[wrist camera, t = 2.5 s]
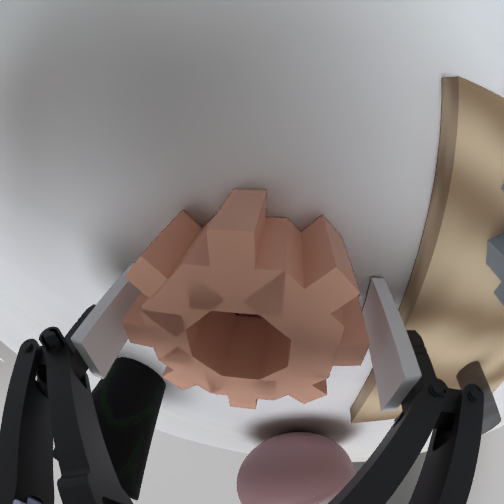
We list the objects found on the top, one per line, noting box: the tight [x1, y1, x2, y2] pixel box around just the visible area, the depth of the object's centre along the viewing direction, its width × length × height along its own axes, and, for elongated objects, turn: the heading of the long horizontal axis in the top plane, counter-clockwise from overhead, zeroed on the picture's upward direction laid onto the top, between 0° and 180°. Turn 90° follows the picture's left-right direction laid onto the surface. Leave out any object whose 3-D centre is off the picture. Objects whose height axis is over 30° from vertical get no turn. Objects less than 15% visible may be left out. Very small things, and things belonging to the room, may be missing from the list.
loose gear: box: [121, 189, 370, 409], centre depth 13 cm, size 11×11×4 cm
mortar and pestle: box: [237, 432, 355, 504], centre depth 20 cm, size 12×12×12 cm
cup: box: [53, 358, 166, 500], centre depth 17 cm, size 8×8×12 cm
